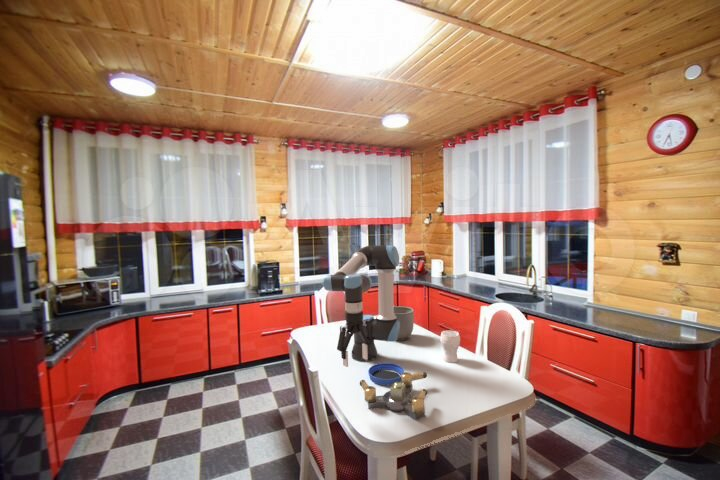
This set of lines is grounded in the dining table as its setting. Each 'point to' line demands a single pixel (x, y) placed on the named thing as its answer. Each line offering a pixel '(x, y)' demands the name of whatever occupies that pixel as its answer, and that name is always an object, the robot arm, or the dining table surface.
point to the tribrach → (397, 400)
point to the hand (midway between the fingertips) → (355, 362)
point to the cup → (450, 345)
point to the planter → (404, 321)
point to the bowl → (385, 373)
